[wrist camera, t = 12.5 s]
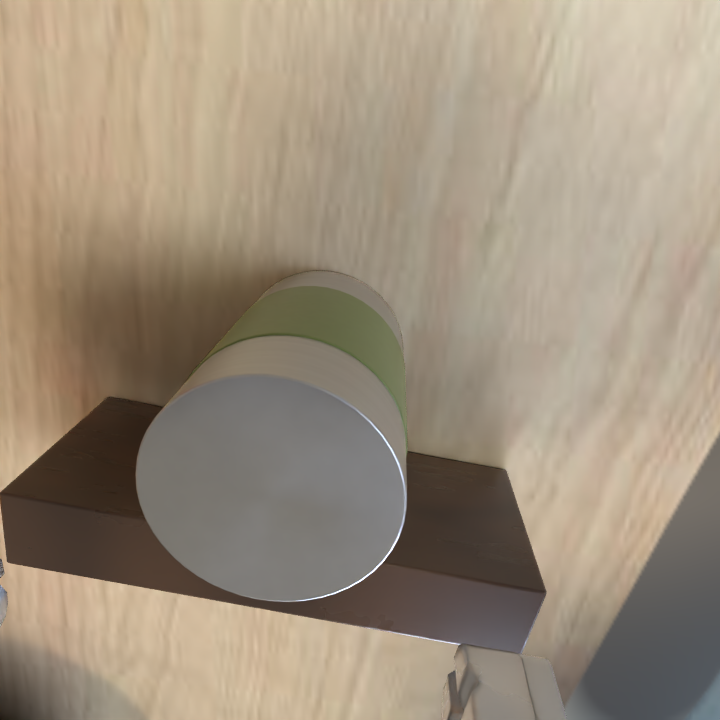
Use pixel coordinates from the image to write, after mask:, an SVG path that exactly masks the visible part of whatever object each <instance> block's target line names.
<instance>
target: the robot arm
mask: <svg viewBox="0 0 720 720" xmlns="http://www.w3.org/2000/svg"><path fill="white" fill-rule="evenodd" d="M3 574H4V569H3V564H2V559H0V578H1V577H2V576H3ZM7 606H8V599H7V592H6V591H5V590H4V589H3V587H2V586H1V585H0V627H1V625H2V623H3V621H4V618H5V616H6V611H7ZM454 660H455V671H453V672H451V673H450V674H448V677H447V680H446V683H445V686H444V692H443V699H442V718H441V719H442V720H567V717H566V713H565V710H564V706H563V703H562V699H561V696H560V693H559V689H558V686H557V682H556V679H555V675H554V672H553V669H552V665H551V663H550V662H549V661H548V659H547V658H541V657H536V656H530V655H525V654H520V653H516V652H512V651H506V650H500V649H494V648H488V647H482V646H477V645H471V644H465V643H461V644H460V645H459V646H458V648H457V651H456V654H455V656H454Z"/></svg>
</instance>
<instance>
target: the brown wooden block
mask: <svg viewBox="0 0 720 720" xmlns="http://www.w3.org/2000/svg"><path fill="white" fill-rule="evenodd" d="M163 408H164V407H159V406H154V405H148V404H143V403H138V402H132V401H127V400H121V399H116V398H110V397H108V398H106V399H105V400H104V401H103V402H102V403H100V404H99V405H98V406H97V407H96V408H95V409H94V410H93V411H91V412H90V413H89V414H88V415H87V416H86V417H85V418H84V419H82V420H81V421H80V422H79V423H78V424H77V425H76V426H75V427H73V428H72V429H71V430H70V431H69V432H68V433H67V434H65V435H64V436H63V437H62V438H61V439H60V440H59V441H58V442H56V443H55V444H54V445H53V446H52V447H51V448H50V449H49V450H47V451H46V452H45V453H44V454H43V455H42V456H41V457H40V458H38V459H37V460H36V461H35V462H34V463H33V464H32V465H30V466H29V467H28V468H27V469H26V470H25V471H24V472H23V473H21V474H20V475H19V476H18V477H17V478H16V479H15V480H14V481H12V482H11V483H10V484H9V485H8V486H7V487H6V488H5V489H3V490H2V491H1V492H0V504H1V513H2V521H3V530H4V539H5V548H6V556H7V562H8V563H12V564H17V565H23V566H28V567H34V568H39V569H45V570H50V571H56V572H61V573H67V574H72V575H78V576H83V577H89V578H94V579H100V580H105V581H111V582H117V583H122V584H128V585H133V586H139V587H144V588H150V589H155V590H161V591H166V592H172V593H177V594H183V595H188V596H194V597H199V598H205V599H210V600H216V601H221V602H227V603H232V604H238V605H243V606H249V607H254V608H260V609H265V610H271V611H276V612H282V613H287V614H293V615H298V616H304V617H309V618H315V619H320V620H326V621H331V622H337V623H342V624H348V625H353V626H359V627H364V628H370V629H375V630H381V631H386V632H392V633H397V634H403V635H408V636H414V637H419V638H425V639H430V640H436V641H441V642H447V643H453V644H458V645H460V644H461V643H465V644H471V645H477V646H482V647H488V648H494V649H500V650H506V651H512V652H516V653H520V654H522V651H523V649H524V647H525V644H526V642H527V639H528V637H529V635H530V632H531V630H532V627H533V625H534V623H535V620H536V618H537V615H538V613H539V610H540V608H541V606H542V603H543V601H544V598H545V596H546V589H545V586H544V583H543V580H542V577H541V574H540V571H539V568H538V565H537V562H536V559H535V556H534V553H533V550H532V547H531V544H530V541H529V538H528V535H527V532H526V529H525V526H524V523H523V520H522V517H521V514H520V511H519V508H518V504H517V501H516V498H515V495H514V492H513V489H512V486H511V483H510V480H509V477H508V474H507V471H506V470H502V469H497V468H491V467H486V466H481V465H475V464H470V463H464V462H459V461H453V460H448V459H442V458H437V457H432V456H426V455H421V454H415V453H410V452H407V456H406V472H407V511H406V516H405V522H404V525H403V528H402V531H401V534H400V537H399V538H398V540H397V542H396V544H395V546H394V548H393V549H392V551H391V552H390V554H389V555H388V556H387V558H386V559H385V560H384V562H383V563H382V564H381V565H380V566H379V567H378V568H377V569H376V570H375V571H374V572H372V573H371V574H370V575H368V576H367V577H366V578H364V579H363V580H362V581H360V582H358V583H356V584H355V585H353V586H351V587H349V588H347V589H345V590H342V591H340V592H338V593H335V594H332V595H329V596H325V597H322V598H317V599H311V600H305V601H292V602H283V601H268V600H260V599H254V598H250V597H246V596H242V595H238V594H235V593H232V592H229V591H226V590H224V589H222V588H220V587H217V586H215V585H213V584H211V583H209V582H207V581H205V580H204V579H202V578H200V577H198V576H197V575H195V574H194V573H192V572H191V571H190V570H188V569H187V568H185V567H184V566H183V565H182V564H181V563H179V562H178V561H177V560H176V559H175V558H174V557H173V556H172V555H171V554H170V553H169V552H168V551H167V550H166V549H165V548H164V547H163V545H162V544H161V543H160V542H159V540H158V539H157V537H156V536H155V535H154V533H153V532H152V530H151V528H150V526H149V524H148V523H147V521H146V519H145V517H144V514H143V511H142V509H141V506H140V503H139V499H138V494H137V490H136V476H135V473H136V462H137V456H138V452H139V448H140V444H141V442H142V439H143V437H144V435H145V433H146V430H147V429H148V427H149V426H150V424H151V423H152V421H153V420H154V418H155V417H156V416H157V414H158V413H159V412H160V411H161V410H162V409H163Z"/></svg>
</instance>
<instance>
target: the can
mask: <svg viewBox="0 0 720 720" xmlns="http://www.w3.org/2000/svg"><path fill="white" fill-rule="evenodd" d="M406 456H407V413H406V383H405V366H404V358H403V342H402V335H401V331H400V327H399V324H398V322H397V320H396V317H395V315H394V314H393V312H392V310H391V309H390V307H389V306H388V304H387V303H386V302H385V301H384V299H383V298H382V297H381V296H380V295H379V294H377V293H376V292H375V291H374V290H373V289H372V288H370V287H369V286H367V285H366V284H364V283H362V282H361V281H359V280H357V279H355V278H352V277H350V276H347V275H344V274H340V273H336V272H329V271H309V272H302V273H299V274H295V275H292V276H289V277H287V278H285V279H282V280H281V281H279V282H277V283H276V284H274V285H273V286H272V287H270V288H269V289H268V290H267V291H265V293H264V294H263V295H262V296H261V297H260V298H259V299H258V300H257V301H256V303H255V304H254V305H253V306H251V307H250V308H249V309H248V310H247V311H246V312H245V313H244V314H243V315H242V316H241V317H240V319H239V320H238V321H237V322H236V323H235V324H234V325H233V327H232V328H231V329H230V330H229V331H228V332H227V333H226V334H225V336H224V337H223V338H222V339H221V340H220V341H219V342H218V343H217V345H216V346H215V347H214V348H213V349H212V350H211V351H210V352H209V354H208V355H207V356H206V357H205V358H204V359H203V360H202V362H201V363H200V364H199V365H198V366H197V367H196V368H195V369H194V371H193V372H192V373H191V375H190V376H189V378H188V379H187V381H186V382H185V384H184V385H183V386H182V387H181V388H180V389H179V391H178V392H177V393H176V394H175V395H174V396H173V397H172V398H171V400H170V401H169V402H168V403H167V404H166V405H165V406H164V408H163V409H162V410H161V411H160V412H159V413H158V414H157V416H156V417H155V418H154V420H153V421H152V423H151V424H150V426H149V427H148V429H147V430H146V433H145V435H144V437H143V439H142V442H141V444H140V448H139V452H138V456H137V462H136V473H135V476H136V490H137V494H138V499H139V503H140V506H141V509H142V511H143V514H144V517H145V519H146V521H147V523H148V524H149V526H150V528H151V530H152V532H153V533H154V535H155V536H156V537H157V539H158V540H159V542H160V543H161V544H162V545H163V547H164V548H165V549H166V550H167V551H168V552H169V553H170V554H171V555H172V556H173V557H174V558H175V559H176V560H177V561H178V562H179V563H181V564H182V565H183V566H184V567H185V568H187V569H188V570H190V571H191V572H192V573H194V574H195V575H197V576H198V577H200V578H202V579H204V580H205V581H207V582H209V583H211V584H213V585H215V586H217V587H220V588H222V589H224V590H226V591H229V592H232V593H235V594H238V595H242V596H246V597H250V598H254V599H260V600H268V601H283V602H292V601H305V600H311V599H317V598H322V597H325V596H329V595H332V594H335V593H338V592H340V591H342V590H345V589H347V588H349V587H351V586H353V585H355V584H356V583H358V582H360V581H362V580H363V579H364V578H366V577H367V576H368V575H370V574H371V573H372V572H374V571H375V570H376V569H377V568H378V567H379V566H380V565H381V564H382V563H383V562H384V560H385V559H386V558H387V556H388V555H389V554H390V552H391V551H392V549H393V548H394V546H395V544H396V542H397V540H398V538H399V537H400V534H401V531H402V528H403V525H404V522H405V516H406V511H407V472H406Z"/></svg>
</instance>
